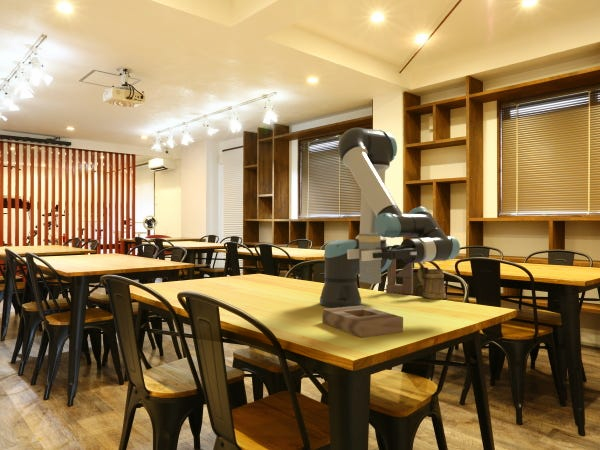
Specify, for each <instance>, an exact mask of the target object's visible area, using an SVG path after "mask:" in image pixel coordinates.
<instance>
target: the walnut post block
mask: <svg viewBox="0 0 600 450" xmlns="http://www.w3.org/2000/svg"><path fill="white" fill-rule="evenodd" d="M321 312H322V316H321V317H322V318H321V319H322V324H325V325H327V326H331V327H334V328H335V329H338V330H341V331H343V332H346V333H348V334H351V335H354V336H356V337H358V338H366V337H368V338H369V337H374V336H382V335H388V334H389V335H390V334H397V333H403V332H404V317H403V316H400V315H397V314H394V313H390V312H387V311H383V310H379V309H376V308H371V307H368V306H365V305H362V304H361V305H360V306H350V307H329V308H323V309H322V311H321Z"/></svg>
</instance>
